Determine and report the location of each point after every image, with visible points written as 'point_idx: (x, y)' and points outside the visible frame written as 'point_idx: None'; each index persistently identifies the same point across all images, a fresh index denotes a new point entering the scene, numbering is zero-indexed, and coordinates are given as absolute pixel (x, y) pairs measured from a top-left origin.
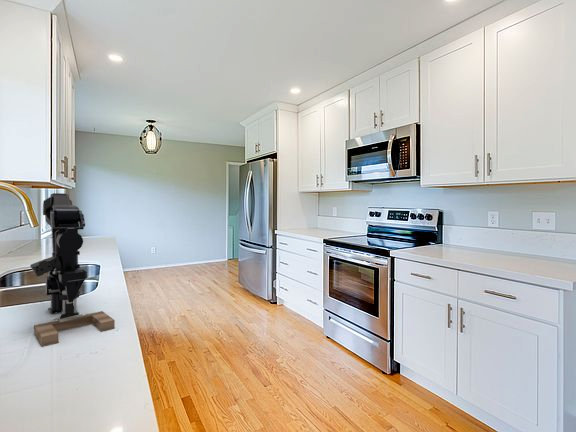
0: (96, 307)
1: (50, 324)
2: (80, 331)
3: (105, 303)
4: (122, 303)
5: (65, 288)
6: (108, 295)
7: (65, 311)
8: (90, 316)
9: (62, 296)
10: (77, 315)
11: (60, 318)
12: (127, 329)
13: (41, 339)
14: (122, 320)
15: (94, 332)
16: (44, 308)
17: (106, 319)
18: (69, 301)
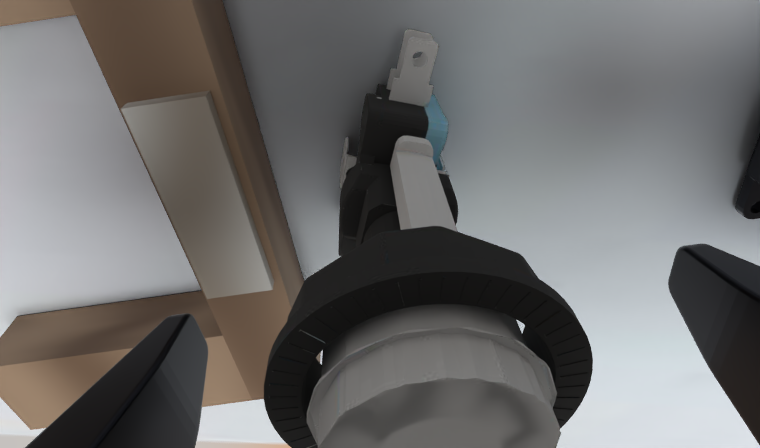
0: (645, 331)
1: (78, 2)
2: (79, 210)
3: (689, 377)
4: (588, 440)
5: (751, 386)
6: None
7: (378, 183)
8: (217, 323)
9: (303, 307)
10: (248, 256)
11: (366, 107)
12: (15, 417)
13: None
14: (214, 414)
15: (16, 283)
16: None
17: (59, 397)
18: (163, 330)
